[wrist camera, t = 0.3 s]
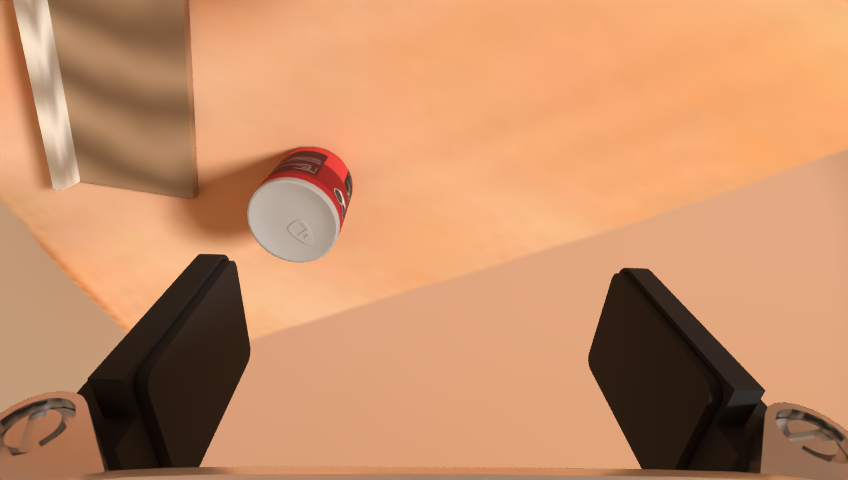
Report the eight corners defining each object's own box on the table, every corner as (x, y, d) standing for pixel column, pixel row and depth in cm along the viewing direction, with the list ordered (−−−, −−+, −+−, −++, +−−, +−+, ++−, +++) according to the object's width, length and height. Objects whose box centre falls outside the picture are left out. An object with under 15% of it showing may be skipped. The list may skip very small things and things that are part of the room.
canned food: (327, 226, 49) (306, 278, 39) (266, 183, 46) (227, 227, 36) (368, 177, 46) (357, 220, 36) (306, 128, 43) (276, 160, 34)
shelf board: (37, -47, 36) (-1, -54, 33) (187, -15, 37) (166, -18, 34) (78, 176, 45) (51, 188, 42) (198, 195, 46) (181, 209, 43)
